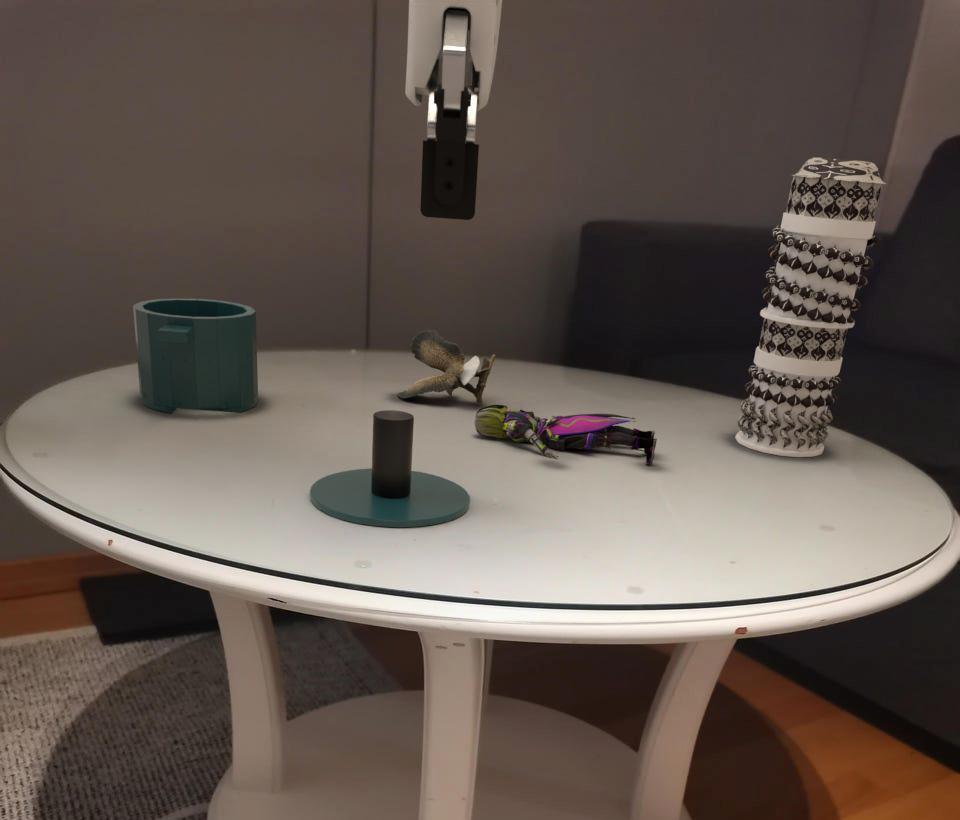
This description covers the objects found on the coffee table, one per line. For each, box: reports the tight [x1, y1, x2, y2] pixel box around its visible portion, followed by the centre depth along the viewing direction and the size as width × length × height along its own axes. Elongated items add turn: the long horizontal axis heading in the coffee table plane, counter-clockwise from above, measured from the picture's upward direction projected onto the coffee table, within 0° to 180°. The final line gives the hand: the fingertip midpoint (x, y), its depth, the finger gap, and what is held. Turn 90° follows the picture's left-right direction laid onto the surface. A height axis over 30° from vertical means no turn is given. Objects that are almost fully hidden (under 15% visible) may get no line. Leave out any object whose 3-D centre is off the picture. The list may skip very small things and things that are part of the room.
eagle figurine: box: [396, 329, 496, 406], centre depth 99 cm, size 8×7×9 cm
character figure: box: [474, 403, 658, 465], centre depth 86 cm, size 9×4×16 cm
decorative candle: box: [734, 157, 886, 458], centre depth 89 cm, size 9×9×25 cm
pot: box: [132, 297, 259, 414], centre depth 91 cm, size 11×16×8 cm, turn 0°
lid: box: [309, 409, 471, 528], centre depth 69 cm, size 11×11×7 cm
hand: (448, 212), depth 62 cm, fingers open, 9 cm apart
